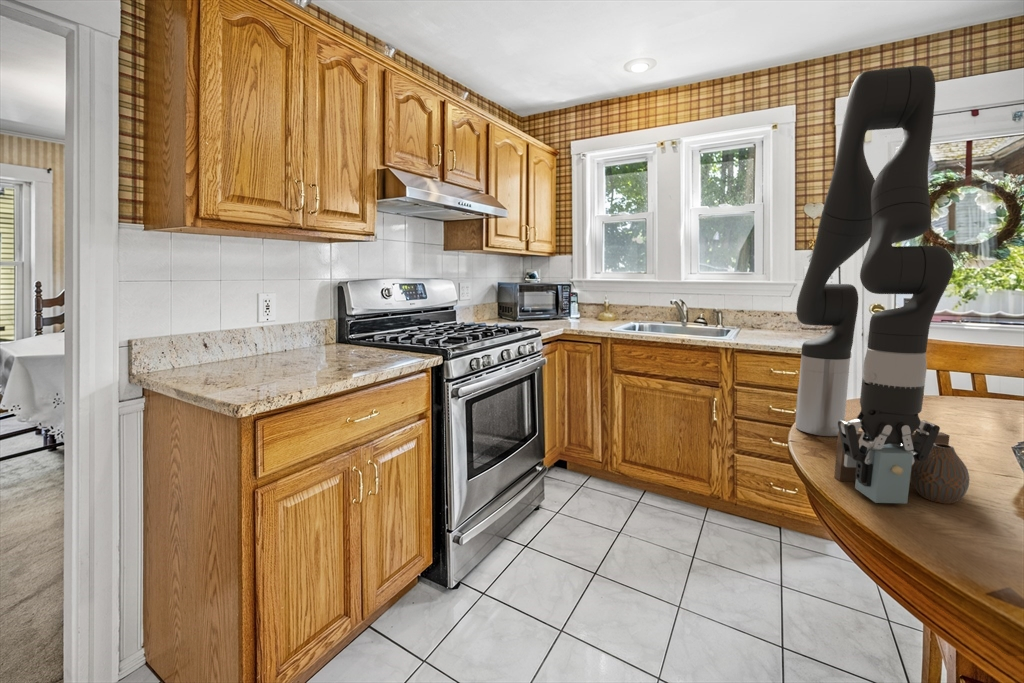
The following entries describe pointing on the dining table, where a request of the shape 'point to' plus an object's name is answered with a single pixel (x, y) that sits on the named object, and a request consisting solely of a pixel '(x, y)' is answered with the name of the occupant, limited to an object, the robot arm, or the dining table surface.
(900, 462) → the cabinet
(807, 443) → the dining table surface
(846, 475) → the wall board
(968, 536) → the dining table surface
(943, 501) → the vase
